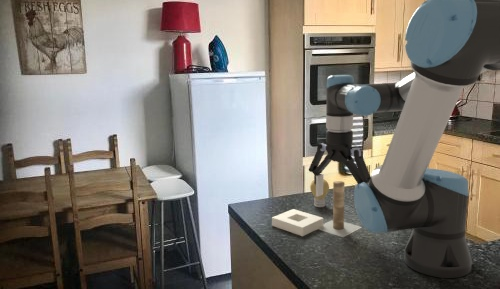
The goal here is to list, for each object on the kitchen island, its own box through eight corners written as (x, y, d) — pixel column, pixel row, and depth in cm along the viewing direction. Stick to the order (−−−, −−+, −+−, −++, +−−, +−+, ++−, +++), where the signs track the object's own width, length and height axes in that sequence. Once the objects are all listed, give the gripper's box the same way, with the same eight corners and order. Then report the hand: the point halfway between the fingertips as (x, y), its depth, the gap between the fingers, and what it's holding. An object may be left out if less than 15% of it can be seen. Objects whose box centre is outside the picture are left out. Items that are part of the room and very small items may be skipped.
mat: (362, 228, 126) (362, 227, 126) (343, 238, 119) (343, 237, 119) (334, 220, 133) (334, 218, 133) (314, 229, 126) (314, 228, 126)
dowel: (346, 227, 126) (346, 182, 123) (339, 230, 124) (340, 184, 121) (337, 224, 128) (337, 180, 126) (330, 227, 126) (331, 182, 124)
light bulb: (329, 210, 142) (329, 181, 140) (310, 209, 143) (310, 181, 141) (328, 203, 148) (328, 176, 146) (310, 203, 149) (310, 176, 147)
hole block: (323, 227, 128) (323, 217, 127) (302, 237, 121) (302, 227, 120) (293, 217, 136) (293, 208, 136) (272, 226, 130) (271, 217, 129)
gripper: (386, 132, 114) (383, 206, 119) (312, 123, 132) (312, 188, 136) (371, 137, 109) (369, 214, 114) (297, 127, 127) (297, 194, 131)
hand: (338, 200), depth 125 cm, fingers open, 13 cm apart
